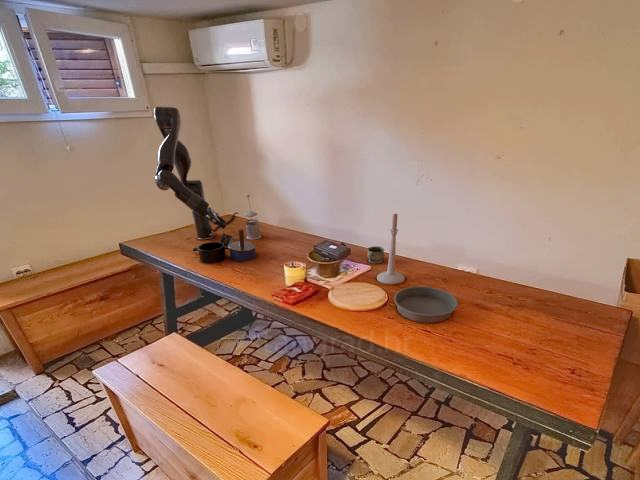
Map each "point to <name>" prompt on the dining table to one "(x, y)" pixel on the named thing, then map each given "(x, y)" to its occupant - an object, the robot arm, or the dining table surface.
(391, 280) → the candlestick
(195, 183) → the robot arm
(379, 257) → the vessel
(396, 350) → the dining table surface
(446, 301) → the cake pan
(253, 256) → the blue round bowl
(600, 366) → the dining table surface
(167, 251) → the dining table surface
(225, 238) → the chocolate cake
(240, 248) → the lid
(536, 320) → the dining table surface
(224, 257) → the pot
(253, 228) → the french press
